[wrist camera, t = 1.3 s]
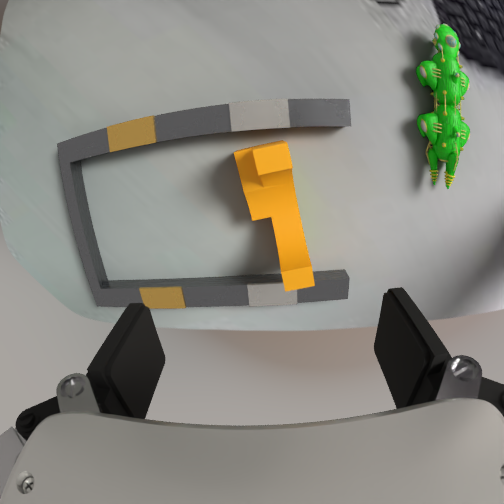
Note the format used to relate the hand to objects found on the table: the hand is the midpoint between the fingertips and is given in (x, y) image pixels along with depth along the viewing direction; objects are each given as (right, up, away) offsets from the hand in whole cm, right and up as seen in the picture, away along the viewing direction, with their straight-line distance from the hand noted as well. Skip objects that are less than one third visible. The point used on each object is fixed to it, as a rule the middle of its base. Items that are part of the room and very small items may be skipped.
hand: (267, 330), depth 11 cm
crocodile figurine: (+19, +19, +12) cm, 29 cm away
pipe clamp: (+2, +8, +18) cm, 19 cm away
